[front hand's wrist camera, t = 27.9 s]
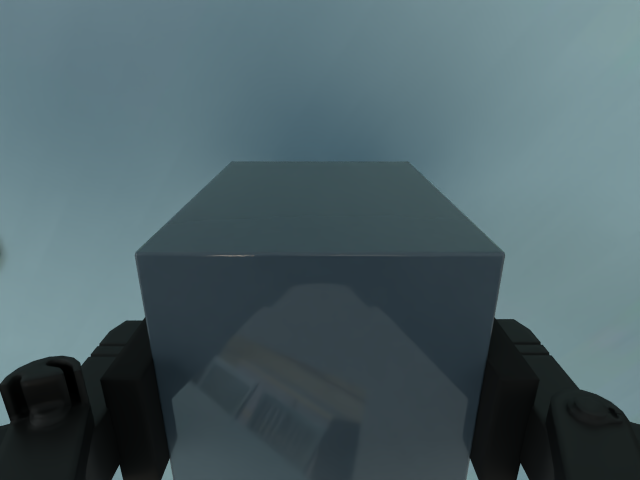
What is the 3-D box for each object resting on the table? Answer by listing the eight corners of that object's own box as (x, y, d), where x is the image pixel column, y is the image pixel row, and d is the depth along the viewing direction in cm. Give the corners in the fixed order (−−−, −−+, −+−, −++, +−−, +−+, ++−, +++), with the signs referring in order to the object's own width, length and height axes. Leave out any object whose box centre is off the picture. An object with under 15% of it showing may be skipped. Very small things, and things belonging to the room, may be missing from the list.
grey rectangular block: (396, 324, 19) (459, 526, 10) (242, 324, 19) (180, 526, 10) (409, 161, 16) (507, 252, 8) (230, 161, 16) (132, 252, 8)
